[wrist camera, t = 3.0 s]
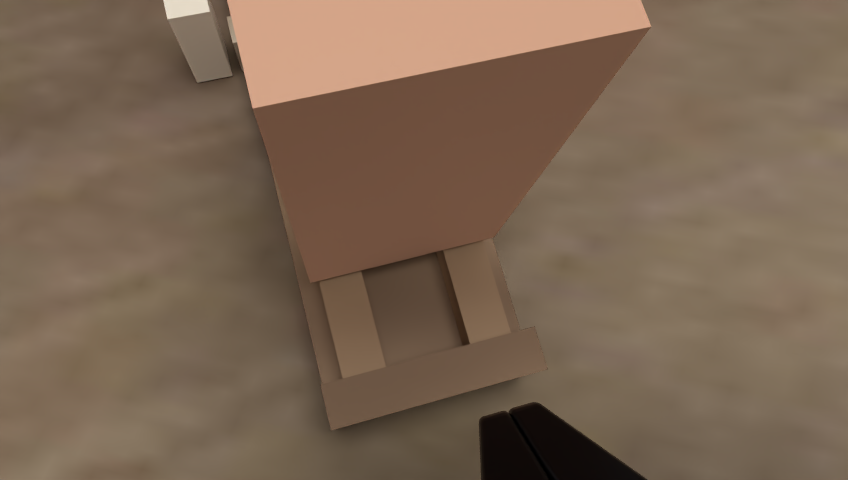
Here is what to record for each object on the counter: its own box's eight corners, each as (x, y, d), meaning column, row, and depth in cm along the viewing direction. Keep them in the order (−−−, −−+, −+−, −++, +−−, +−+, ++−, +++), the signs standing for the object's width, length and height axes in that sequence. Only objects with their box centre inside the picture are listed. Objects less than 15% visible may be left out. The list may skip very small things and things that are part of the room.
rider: (486, 247, 17) (650, 25, 8) (312, 290, 17) (252, 108, 7) (442, 104, 18) (540, -256, 8) (276, 139, 17) (178, -209, 8)
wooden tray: (527, 374, 18) (556, 366, 16) (326, 431, 17) (320, 433, 15) (376, -121, 22) (379, -197, 19) (203, -93, 21) (180, -169, 18)
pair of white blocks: (465, 30, 21) (484, -39, 18) (197, 83, 20) (167, 19, 16) (456, 1, 21) (473, -71, 18) (190, 52, 20) (159, -17, 17)
